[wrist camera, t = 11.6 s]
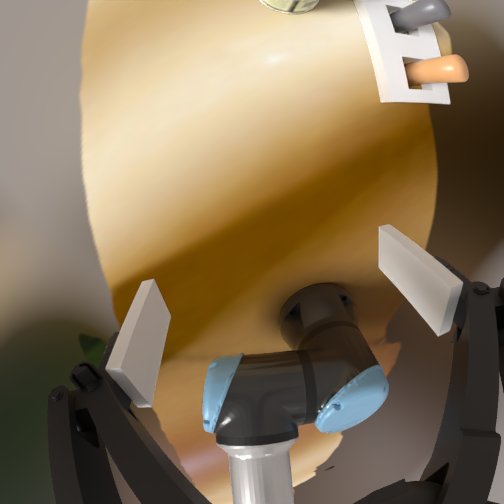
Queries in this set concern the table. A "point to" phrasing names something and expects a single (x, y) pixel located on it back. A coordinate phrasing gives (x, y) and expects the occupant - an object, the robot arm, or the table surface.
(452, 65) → the jaw pin orange
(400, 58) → the housing
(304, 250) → the table surface
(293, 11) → the coffee can
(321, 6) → the table surface
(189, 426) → the table surface
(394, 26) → the ball
